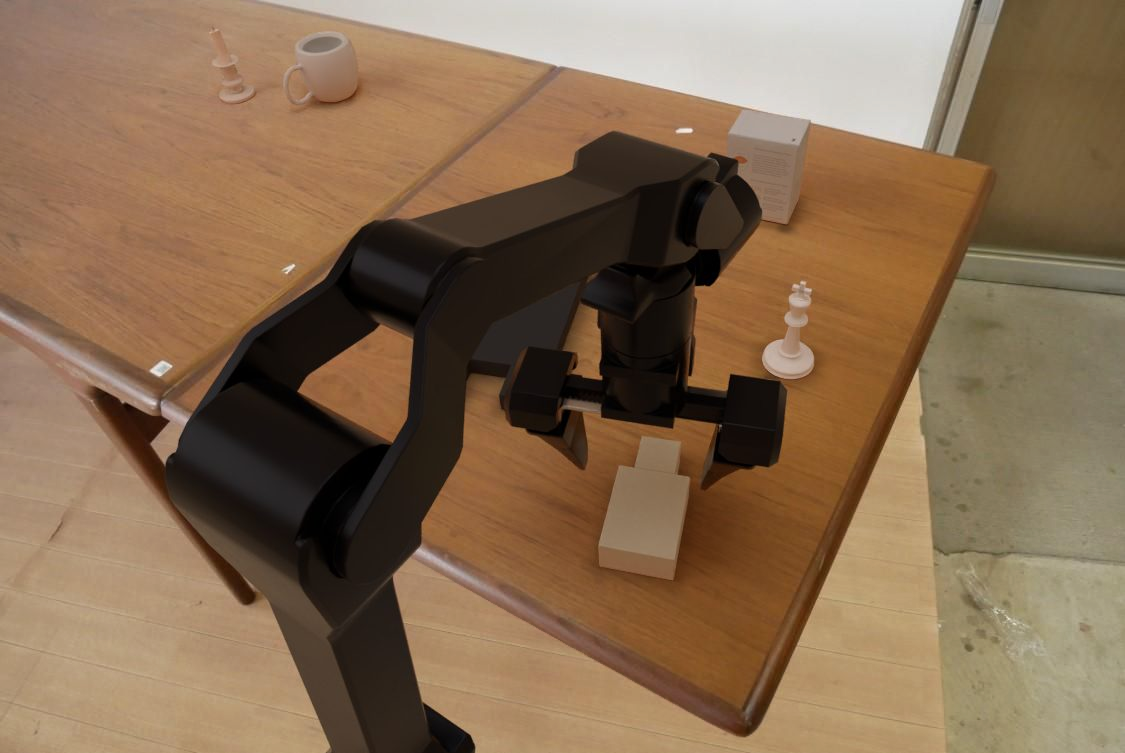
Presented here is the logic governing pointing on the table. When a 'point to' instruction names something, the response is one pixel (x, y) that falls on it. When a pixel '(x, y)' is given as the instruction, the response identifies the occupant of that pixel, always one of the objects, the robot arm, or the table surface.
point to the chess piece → (791, 340)
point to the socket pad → (526, 334)
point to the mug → (324, 67)
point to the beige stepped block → (646, 512)
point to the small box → (770, 159)
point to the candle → (229, 72)
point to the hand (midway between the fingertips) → (642, 475)
